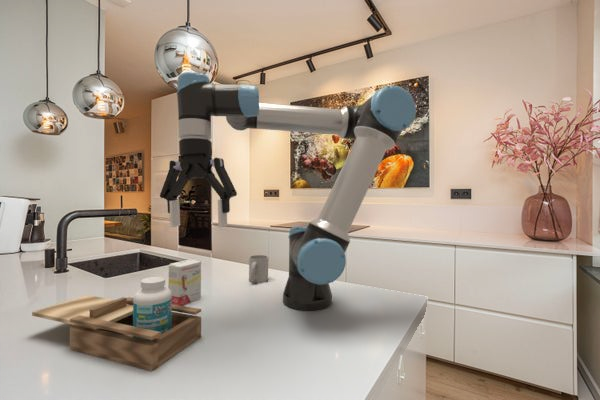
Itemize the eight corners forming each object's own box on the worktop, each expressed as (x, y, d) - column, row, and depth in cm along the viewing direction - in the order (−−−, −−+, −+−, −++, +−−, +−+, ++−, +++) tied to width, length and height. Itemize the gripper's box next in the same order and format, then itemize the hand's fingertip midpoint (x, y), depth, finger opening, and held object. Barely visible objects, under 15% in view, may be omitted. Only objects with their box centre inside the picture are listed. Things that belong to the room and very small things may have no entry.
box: (201, 336, 67) (201, 308, 67) (152, 371, 54) (152, 336, 54) (128, 322, 75) (128, 296, 74) (69, 349, 61) (69, 318, 61)
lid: (145, 308, 71) (145, 297, 71) (96, 330, 60) (96, 316, 60) (86, 297, 78) (86, 287, 78) (32, 315, 67) (31, 303, 67)
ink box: (178, 307, 85) (178, 266, 84) (167, 304, 87) (167, 264, 87) (201, 298, 92) (202, 260, 92) (190, 295, 95) (191, 258, 94)
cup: (270, 278, 115) (271, 255, 114) (261, 286, 105) (261, 261, 105) (253, 277, 116) (253, 254, 116) (242, 284, 107) (242, 260, 106)
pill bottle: (131, 354, 58) (132, 286, 58) (133, 338, 65) (133, 277, 64) (173, 346, 62) (173, 281, 61) (170, 331, 68) (170, 273, 68)
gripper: (248, 138, 72) (251, 225, 72) (164, 145, 79) (167, 224, 79) (233, 132, 65) (236, 229, 65) (142, 141, 72) (145, 227, 72)
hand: (198, 226), depth 72 cm, fingers open, 13 cm apart
